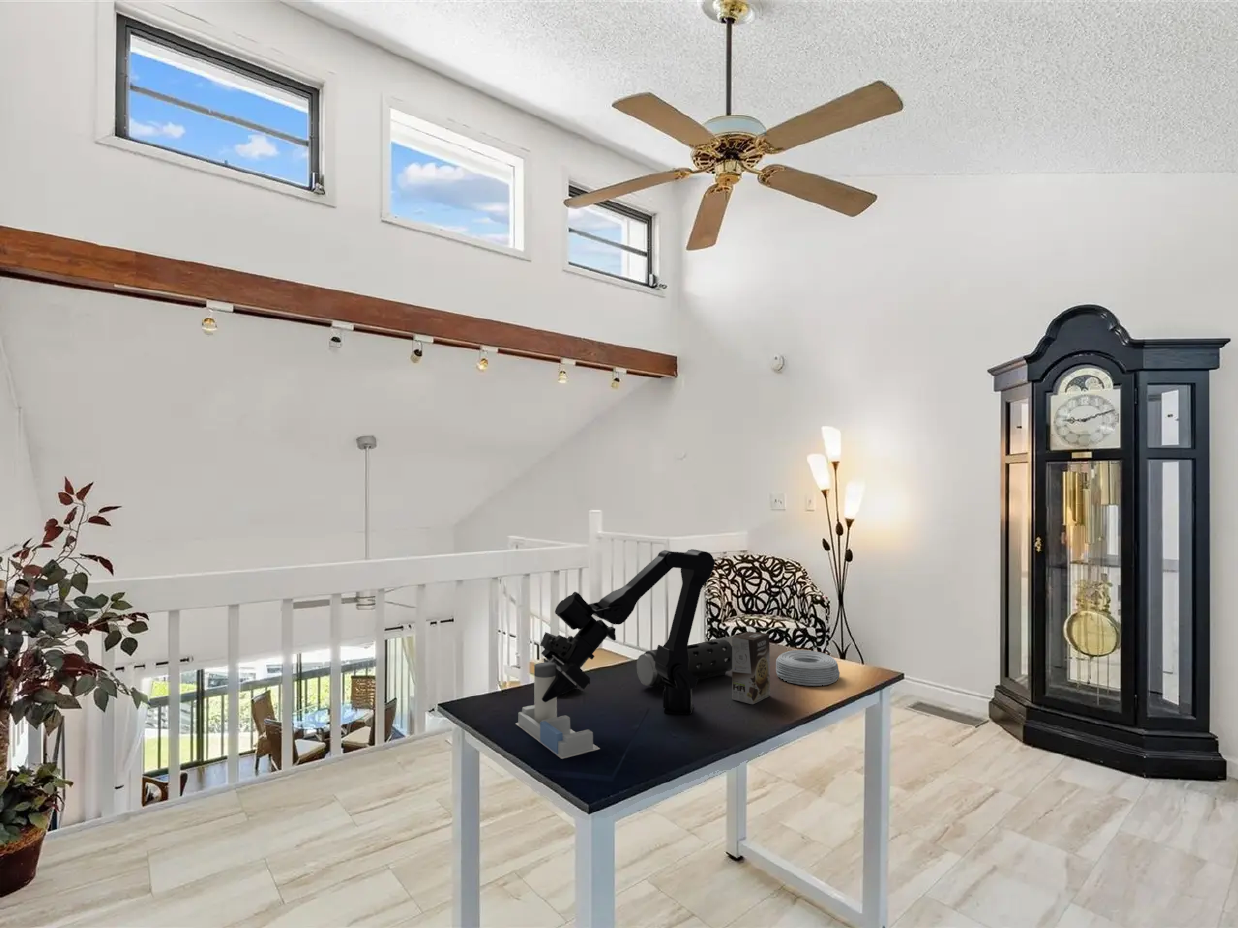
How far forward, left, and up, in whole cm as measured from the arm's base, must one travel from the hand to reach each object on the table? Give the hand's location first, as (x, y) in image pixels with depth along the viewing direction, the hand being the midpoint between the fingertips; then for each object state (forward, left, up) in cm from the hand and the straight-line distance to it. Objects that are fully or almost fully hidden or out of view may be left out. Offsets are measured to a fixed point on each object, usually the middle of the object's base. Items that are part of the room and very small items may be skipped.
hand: (539, 697), depth 150 cm
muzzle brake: (-27, -44, -8) cm, 52 cm away
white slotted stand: (-5, +3, -8) cm, 10 cm away
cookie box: (-45, -34, -8) cm, 57 cm away
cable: (-60, -55, -8) cm, 82 cm away
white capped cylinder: (-1, -1, -7) cm, 7 cm away
